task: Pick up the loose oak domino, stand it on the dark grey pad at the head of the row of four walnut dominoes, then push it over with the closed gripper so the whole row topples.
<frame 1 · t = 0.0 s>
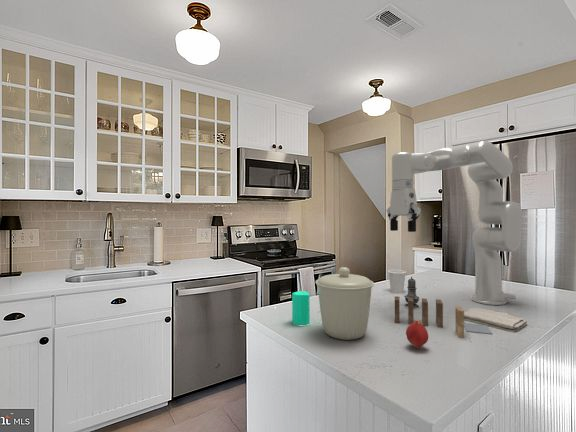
hand: (402, 231, 118), 31 cm above the counter, tool pointing down, fingers open, 9 cm apart
canister: (344, 334, 99), on the counter
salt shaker: (411, 306, 129), on the counter
domino 2: (424, 323, 108), on the counter
washcloth: (491, 323, 109), on the counter
domino 1: (439, 325, 106), on the counter
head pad: (476, 328, 102), on the counter
candle: (301, 323, 109), on the counter
domino 3: (410, 322, 109), on the counter
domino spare: (459, 334, 98), on the counter
dixie cup: (397, 292, 152), on the counter
domino 4: (397, 320, 111), on the counter
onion: (417, 348, 88), on the counter
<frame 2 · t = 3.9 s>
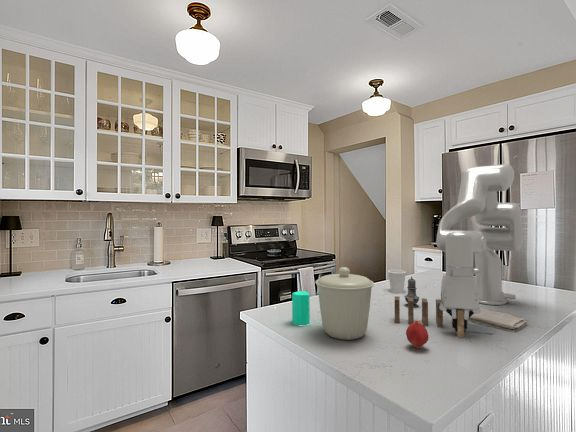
hand: (459, 330, 98), 1 cm above the counter, tool pointing down, fingers closed on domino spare, 1 cm apart
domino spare: (459, 334, 98), on the counter, touching gripper
everything else where it was.
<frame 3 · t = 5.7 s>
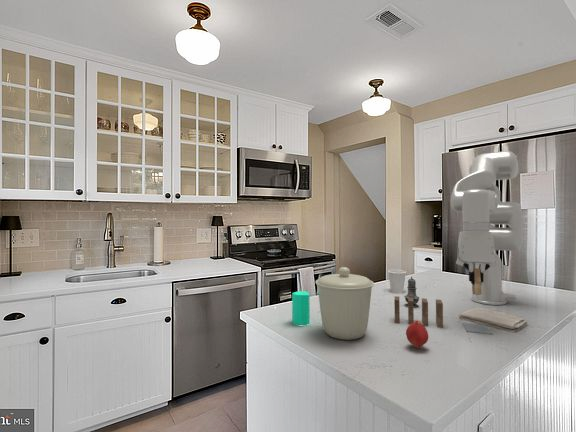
hand: (476, 283, 102), 15 cm above the counter, tool pointing down, fingers closed on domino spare, 1 cm apart
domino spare: (477, 294, 101), point 12 cm above the counter, tilted 16°, touching gripper
everything else where it was.
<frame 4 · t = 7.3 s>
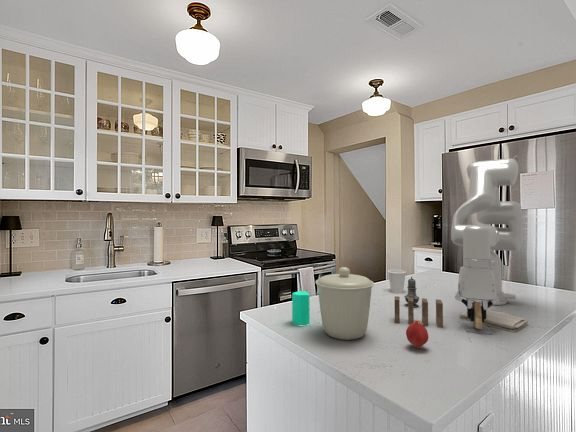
hand: (476, 320, 102), 3 cm above the counter, tool pointing down, fingers closed
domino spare: (477, 328, 100), point 1 cm above the counter, tilted 16°, touching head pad
everything else where it was.
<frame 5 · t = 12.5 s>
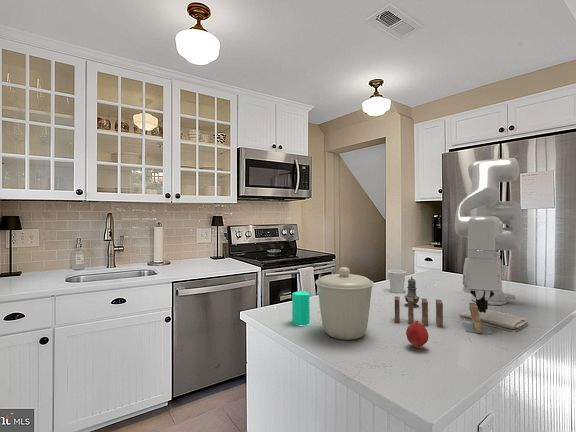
hand: (481, 311, 102), 6 cm above the counter, tool pointing down, fingers closed
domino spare: (477, 329, 100), resting on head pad, tilted 9°
everything else where it was.
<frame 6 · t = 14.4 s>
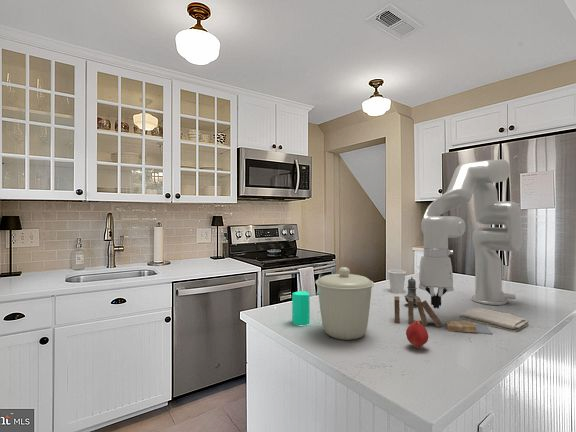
hand: (436, 307, 106), 6 cm above the counter, tool pointing down, fingers closed
domino 2: (424, 323, 108), on the counter, tilted 15°, touching domino 1
domino 1: (438, 323, 106), on the counter, tilted 35°, touching domino 2
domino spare: (474, 327, 100), point 1 cm above the counter, tilted 93°, touching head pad
everything else where it was.
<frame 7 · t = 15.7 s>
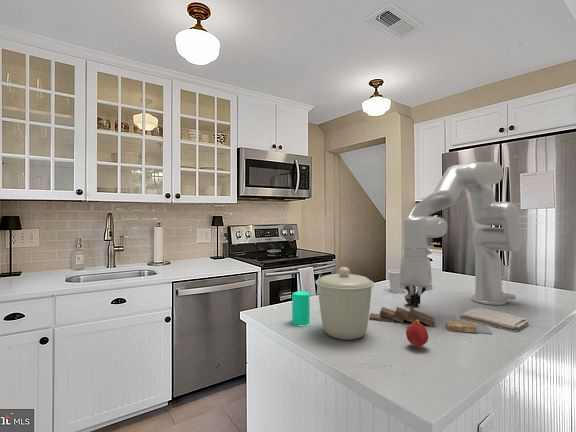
hand: (415, 305, 109), 6 cm above the counter, tool pointing down, fingers closed
domino 2: (419, 320, 108), point 1 cm above the counter, tilted 70°, touching domino 1, domino 3
domino 1: (433, 322, 106), point 1 cm above the counter, tilted 70°, touching domino 2
domino 3: (403, 318, 110), point 1 cm above the counter, tilted 75°, touching domino 2, domino 4
domino 4: (393, 319, 111), on the counter, tilted 90°, touching domino 3
everything else where it was.
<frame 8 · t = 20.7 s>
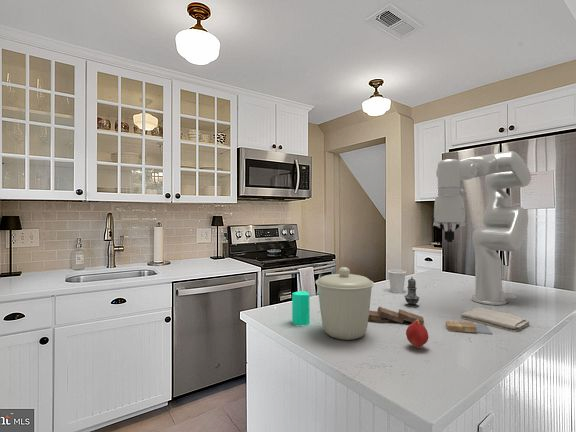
hand: (449, 241, 117), 27 cm above the counter, tool pointing down, fingers closed
domino 2: (401, 318, 110), point 1 cm above the counter, tilted 72°, touching domino 1, domino 3
domino 1: (422, 321, 108), point 1 cm above the counter, tilted 74°, touching domino 2
domino 3: (381, 316, 111), point 2 cm above the counter, tilted 89°, touching domino 2, domino 4
domino 4: (387, 320, 111), on the counter, tilted 90°, touching domino 3
everything else where it was.
at the end: domino 4 tilted 90°; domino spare tilted 93°; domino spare inside the target area (4.7 cm from its centre), point 1.2 cm above the counter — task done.
